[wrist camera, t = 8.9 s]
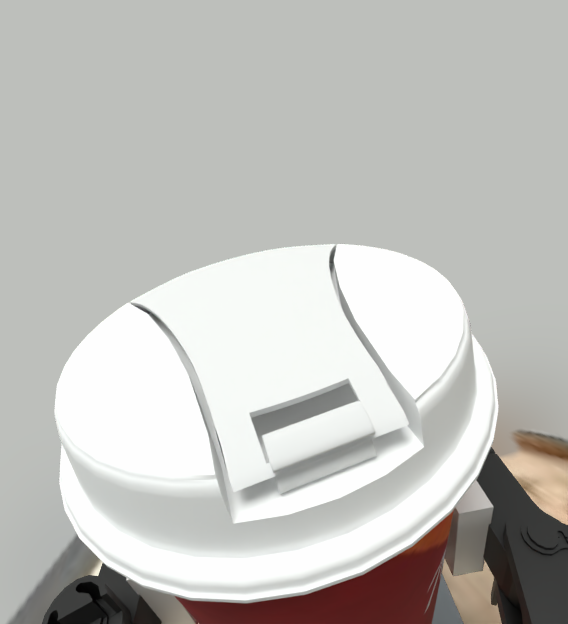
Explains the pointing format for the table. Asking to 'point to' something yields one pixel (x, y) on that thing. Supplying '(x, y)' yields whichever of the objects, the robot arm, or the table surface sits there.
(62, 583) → the table surface
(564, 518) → the table surface
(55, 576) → the table surface
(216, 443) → the paper cup
